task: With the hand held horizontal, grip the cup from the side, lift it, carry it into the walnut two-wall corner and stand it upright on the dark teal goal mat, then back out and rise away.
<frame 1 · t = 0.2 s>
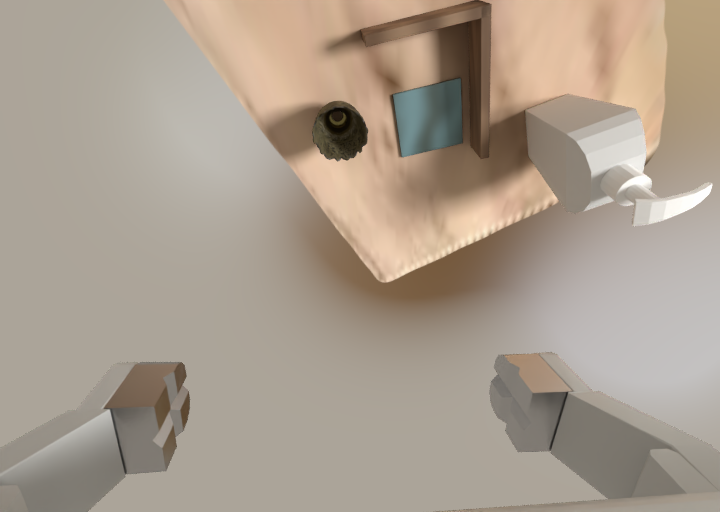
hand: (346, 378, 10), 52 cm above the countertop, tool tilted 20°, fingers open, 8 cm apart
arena: (429, 119, 59), on the countertop
cup: (337, 115, 57), on the countertop
soap bottle: (552, 124, 61), on the countertop
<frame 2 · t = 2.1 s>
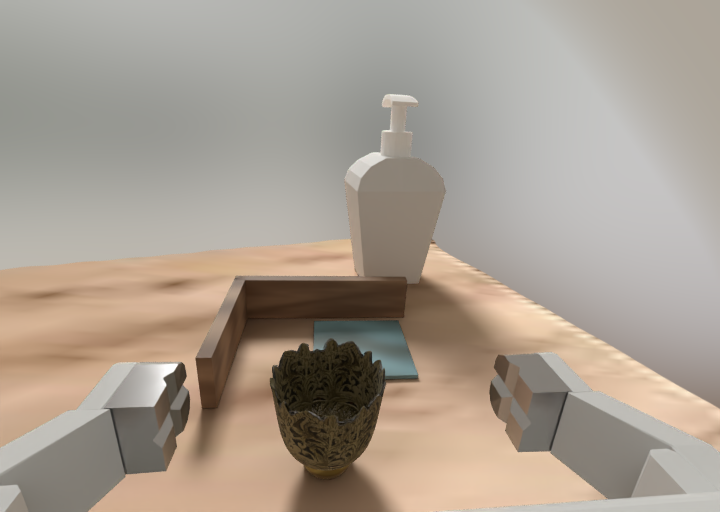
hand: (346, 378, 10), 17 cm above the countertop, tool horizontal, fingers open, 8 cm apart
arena: (360, 348, 40), on the countertop
cup: (326, 463, 27), on the countertop
soap bottle: (383, 274, 60), on the countertop
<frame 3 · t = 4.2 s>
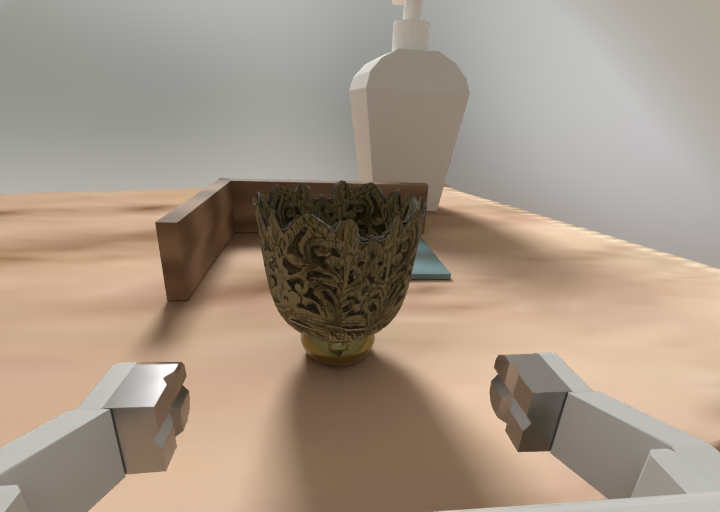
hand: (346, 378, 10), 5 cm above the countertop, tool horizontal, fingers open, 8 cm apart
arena: (374, 255, 32), on the countertop
cup: (337, 353, 19), on the countertop
soap bottle: (395, 205, 52), on the countertop
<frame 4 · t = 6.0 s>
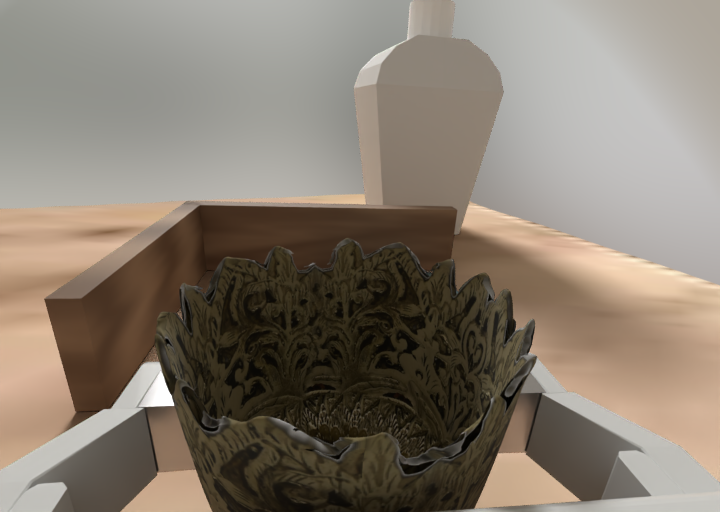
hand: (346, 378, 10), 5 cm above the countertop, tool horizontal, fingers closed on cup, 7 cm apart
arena: (390, 309, 24), on the countertop
soap bottle: (408, 226, 43), on the countertop
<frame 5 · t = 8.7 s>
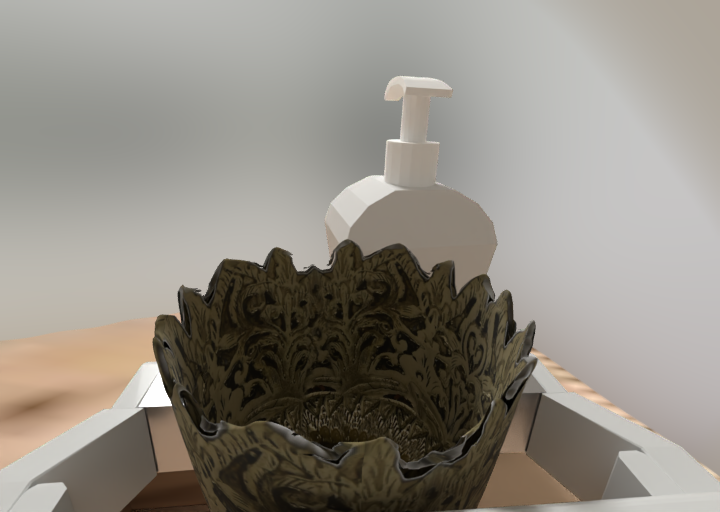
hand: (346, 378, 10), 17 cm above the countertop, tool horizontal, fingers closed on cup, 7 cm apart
soap bottle: (389, 364, 38), on the countertop
when the fingers open (7 cm above the countertop, at t = 11.5 s): cup drops 1 cm, resting on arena.
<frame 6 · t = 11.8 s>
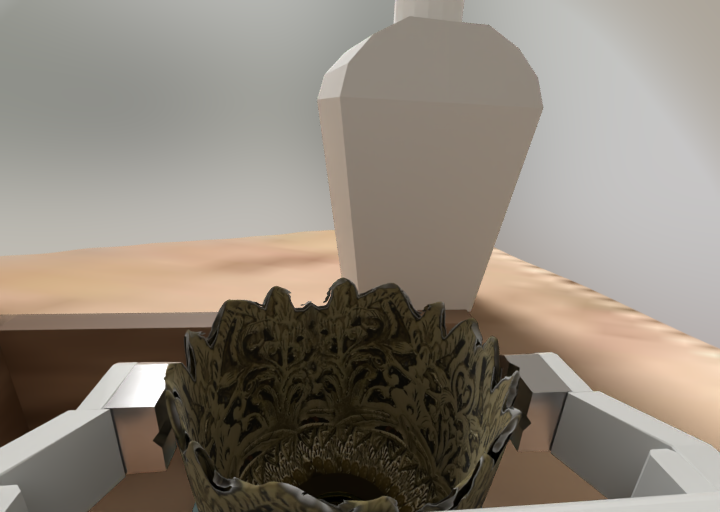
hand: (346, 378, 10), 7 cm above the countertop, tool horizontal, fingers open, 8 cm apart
soap bottle: (398, 292, 31), on the countertop
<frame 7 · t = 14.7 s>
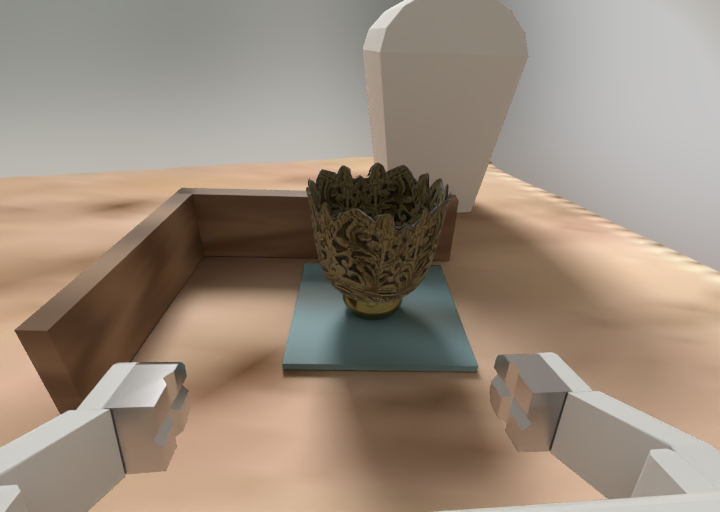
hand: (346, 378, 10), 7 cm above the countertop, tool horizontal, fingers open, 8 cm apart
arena: (375, 310, 24), on the countertop
cup: (371, 308, 24), resting on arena
soap bottle: (418, 200, 41), on the countertop
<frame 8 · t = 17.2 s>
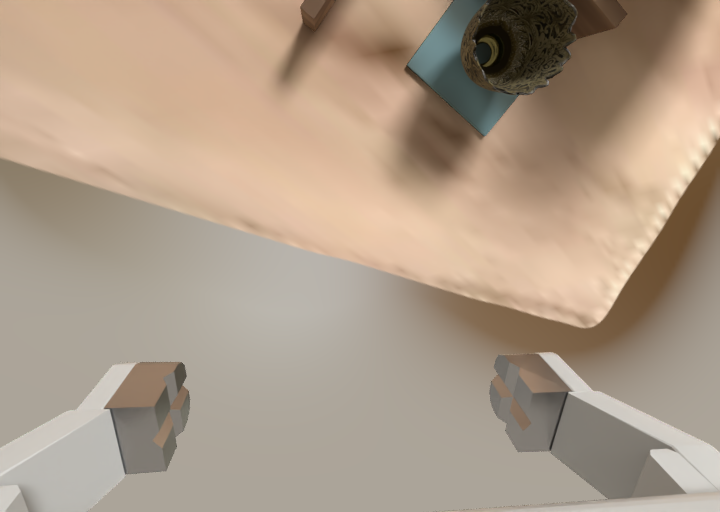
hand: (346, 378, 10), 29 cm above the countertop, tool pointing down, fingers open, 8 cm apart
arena: (482, 55, 34), on the countertop
cup: (480, 53, 34), resting on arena
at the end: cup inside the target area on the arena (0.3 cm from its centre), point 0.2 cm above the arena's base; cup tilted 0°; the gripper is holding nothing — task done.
